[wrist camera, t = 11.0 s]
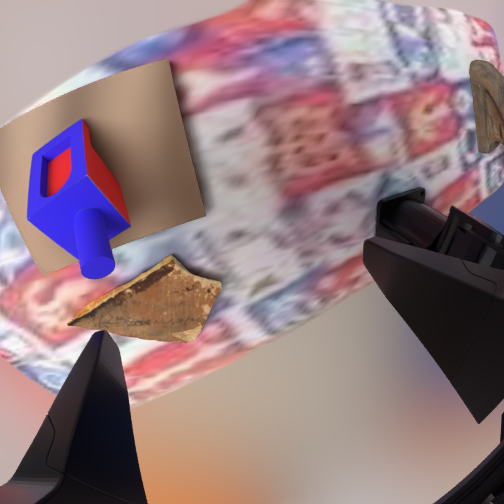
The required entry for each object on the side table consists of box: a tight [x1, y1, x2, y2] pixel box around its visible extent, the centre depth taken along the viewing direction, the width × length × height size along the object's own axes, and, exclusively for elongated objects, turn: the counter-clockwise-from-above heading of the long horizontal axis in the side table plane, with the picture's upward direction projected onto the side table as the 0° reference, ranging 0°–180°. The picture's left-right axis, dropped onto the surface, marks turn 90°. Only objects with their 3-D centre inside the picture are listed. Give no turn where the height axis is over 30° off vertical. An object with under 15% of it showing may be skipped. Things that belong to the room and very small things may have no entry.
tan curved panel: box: [0, 59, 206, 276], centre depth 15 cm, size 12×10×1 cm
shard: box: [67, 255, 221, 343], centre depth 21 cm, size 11×8×2 cm
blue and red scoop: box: [27, 119, 132, 279], centre depth 13 cm, size 4×4×8 cm
